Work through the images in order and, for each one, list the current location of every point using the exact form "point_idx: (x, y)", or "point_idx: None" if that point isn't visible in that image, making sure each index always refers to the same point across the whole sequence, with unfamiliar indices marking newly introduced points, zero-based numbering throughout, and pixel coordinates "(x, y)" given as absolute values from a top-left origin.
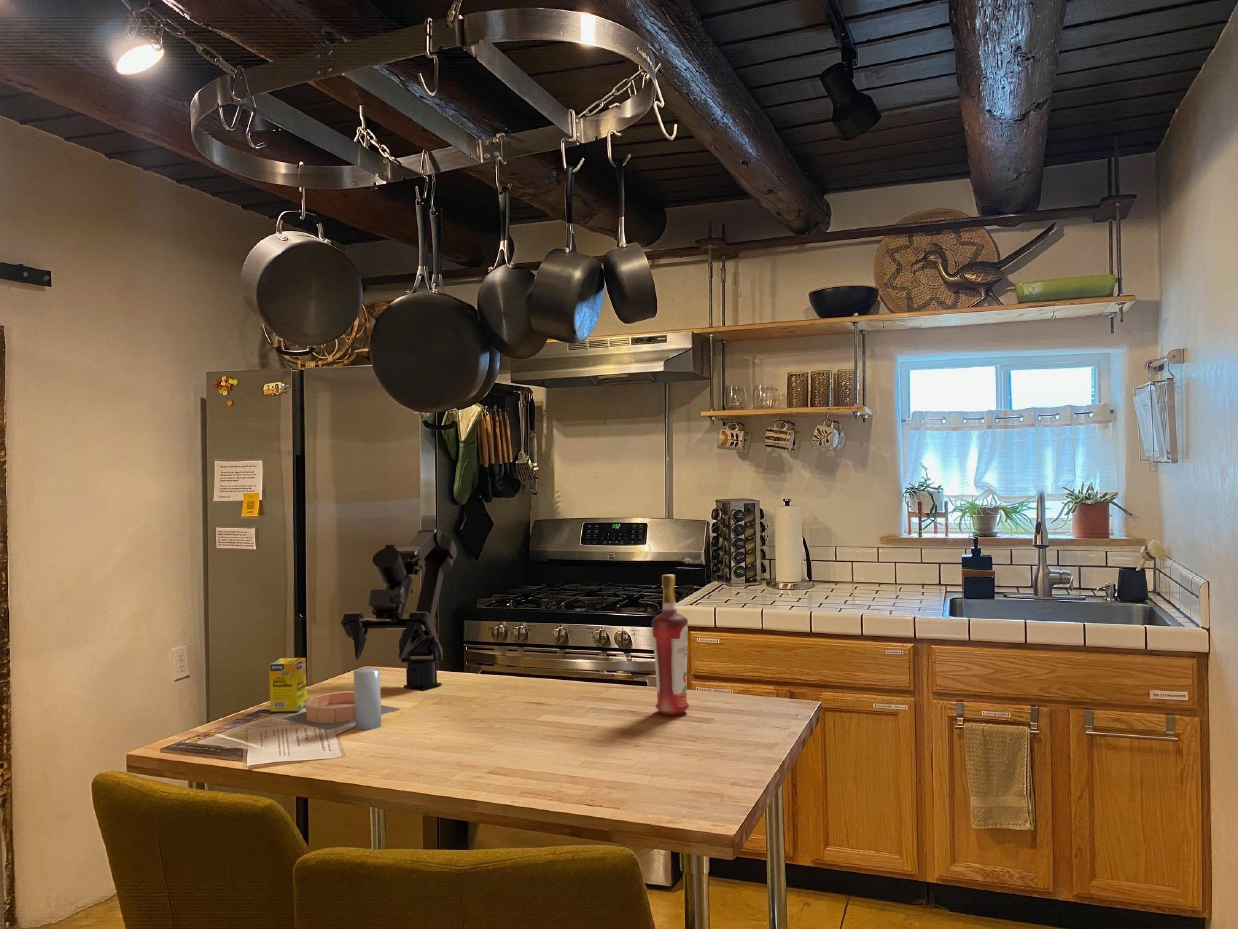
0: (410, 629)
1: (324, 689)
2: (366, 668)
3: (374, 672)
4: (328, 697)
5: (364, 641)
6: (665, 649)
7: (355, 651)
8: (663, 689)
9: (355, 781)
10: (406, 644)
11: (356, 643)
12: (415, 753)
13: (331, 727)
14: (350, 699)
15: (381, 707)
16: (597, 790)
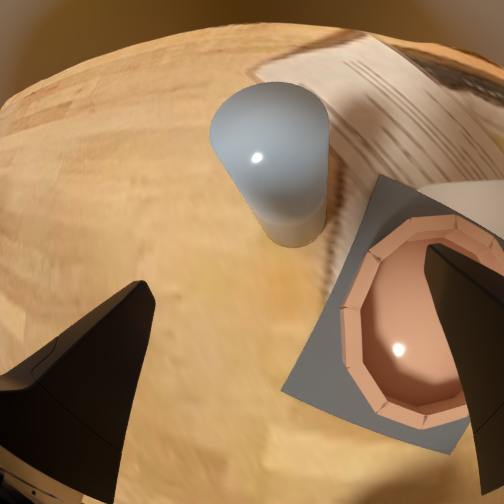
0: None
1: None
2: (291, 153)
3: (218, 110)
4: None
5: (485, 446)
6: None
7: (461, 254)
8: None
9: (191, 33)
10: (73, 325)
11: (502, 287)
12: (142, 112)
13: (382, 192)
14: (446, 402)
15: (346, 402)
16: (22, 113)
